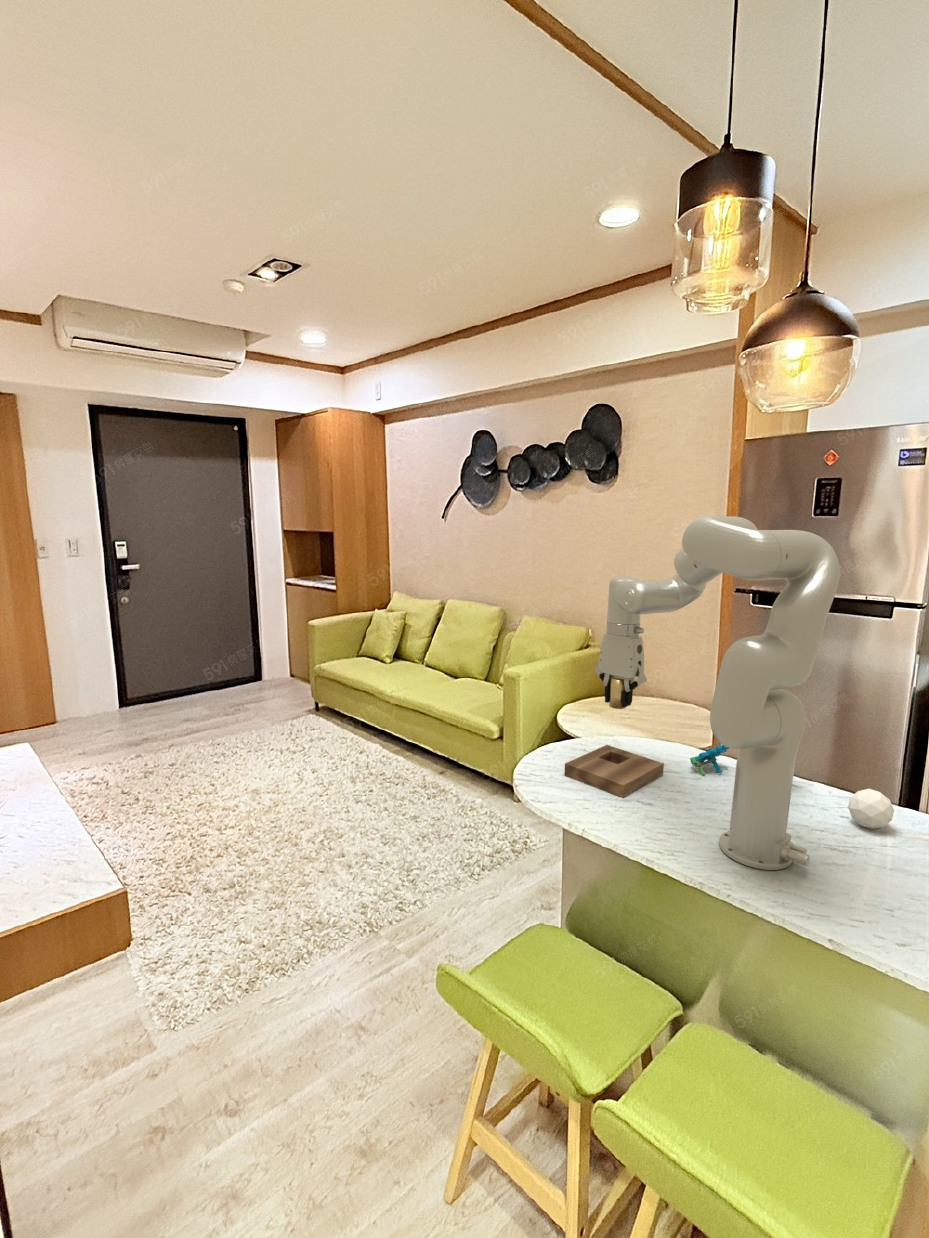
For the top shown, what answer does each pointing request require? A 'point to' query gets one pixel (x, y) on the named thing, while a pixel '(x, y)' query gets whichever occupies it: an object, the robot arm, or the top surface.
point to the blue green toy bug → (709, 758)
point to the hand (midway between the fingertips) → (617, 702)
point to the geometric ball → (871, 808)
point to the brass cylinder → (616, 692)
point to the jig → (614, 770)
